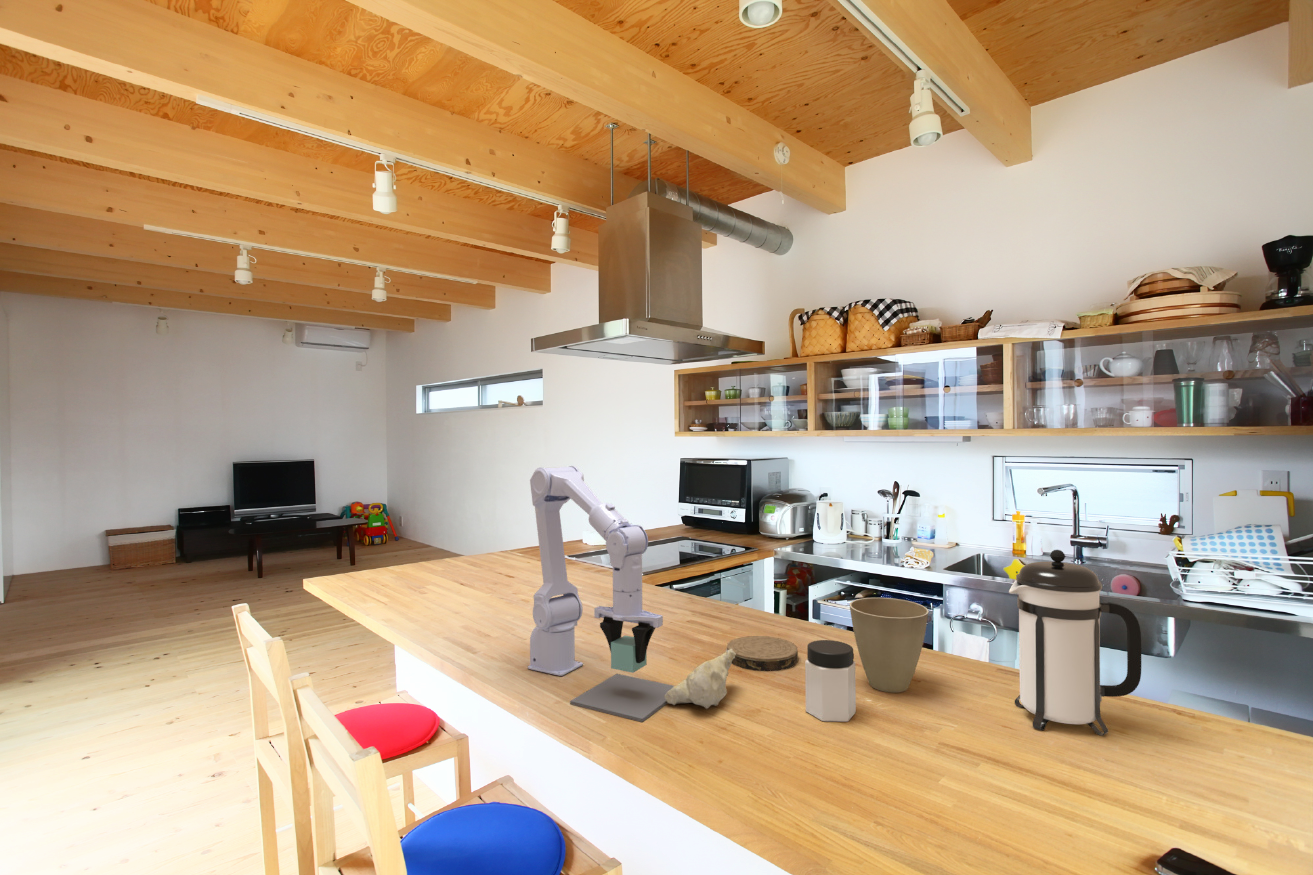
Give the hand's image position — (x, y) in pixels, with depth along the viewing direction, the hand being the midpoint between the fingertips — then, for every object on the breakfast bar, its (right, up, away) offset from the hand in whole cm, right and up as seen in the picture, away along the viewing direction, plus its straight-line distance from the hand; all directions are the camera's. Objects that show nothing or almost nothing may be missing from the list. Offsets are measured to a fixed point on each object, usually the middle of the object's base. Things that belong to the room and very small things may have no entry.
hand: (628, 659), depth 124 cm
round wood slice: (+29, -8, +21) cm, 37 cm away
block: (0, -2, 0) cm, 2 cm away
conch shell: (+15, -8, 0) cm, 17 cm away
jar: (+37, -7, -7) cm, 39 cm away
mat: (0, -7, 0) cm, 7 cm away
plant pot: (+52, -7, +5) cm, 53 cm away
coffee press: (+78, -7, -11) cm, 79 cm away
